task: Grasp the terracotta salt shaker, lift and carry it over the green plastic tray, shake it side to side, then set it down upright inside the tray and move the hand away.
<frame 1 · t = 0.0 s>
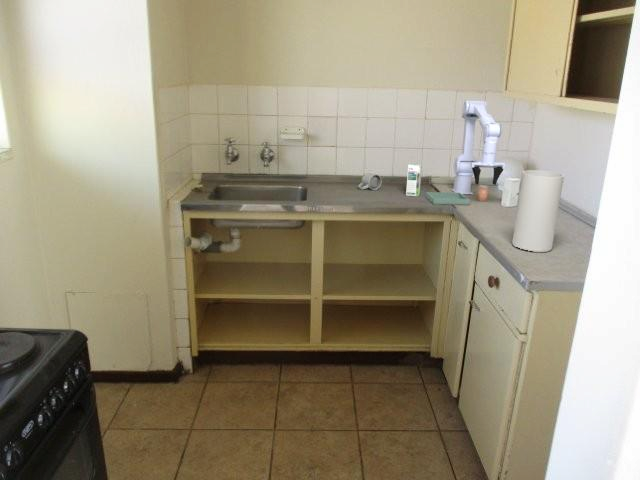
hand: (485, 184, 226), 10 cm above the counter, tool pointing down, fingers open, 7 cm apart
skincare box: (508, 206, 233), on the counter
syrup box: (412, 195, 248), on the counter
cylinder vase: (531, 247, 177), on the counter
ceramic mug: (368, 189, 259), on the counter
tray: (446, 201, 238), on the counter
salt shaker: (481, 200, 241), on the counter
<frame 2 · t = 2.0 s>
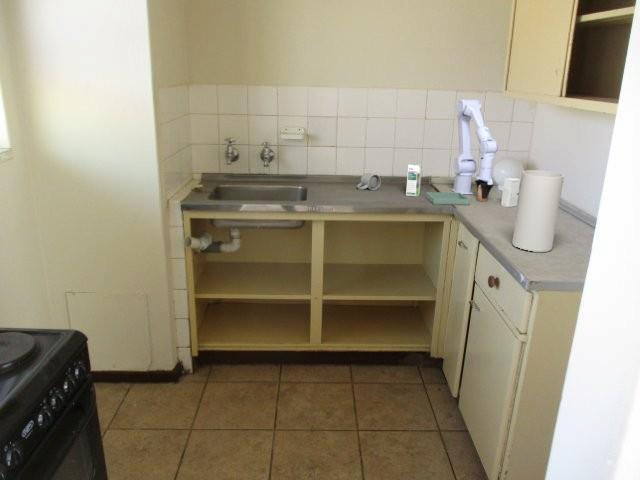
hand: (482, 197, 240), 2 cm above the counter, tool pointing down, fingers closed on salt shaker, 5 cm apart
salt shaker: (482, 200, 241), on the counter, touching gripper
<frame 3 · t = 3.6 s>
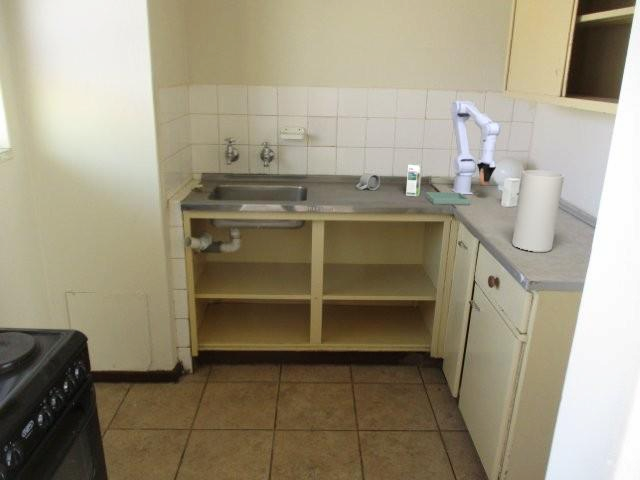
hand: (484, 180, 238), 9 cm above the counter, tool pointing down, fingers closed on salt shaker, 5 cm apart
salt shaker: (484, 184, 238), point 8 cm above the counter, touching gripper
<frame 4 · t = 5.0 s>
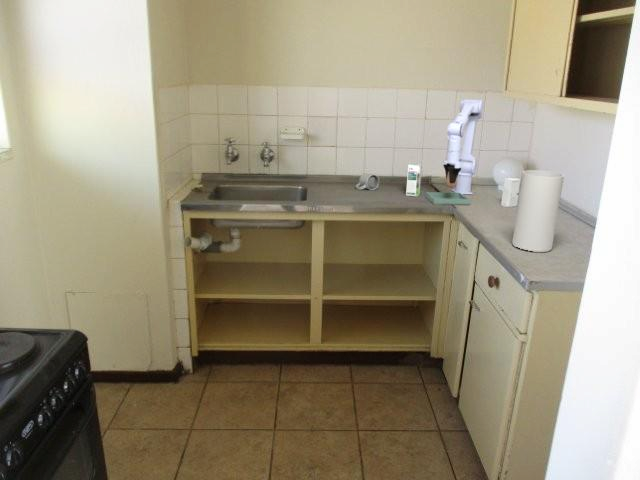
hand: (450, 181, 232), 9 cm above the counter, tool pointing down, fingers closed on salt shaker, 5 cm apart
salt shaker: (450, 186, 233), point 8 cm above the counter, touching gripper
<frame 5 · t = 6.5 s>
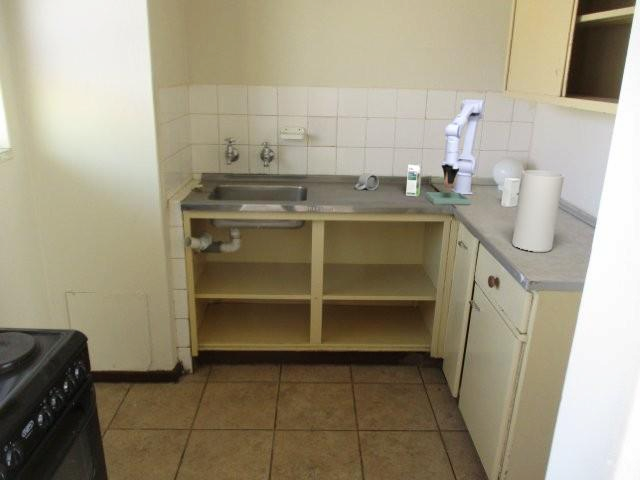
hand: (448, 182, 235), 9 cm above the counter, tool pointing down, fingers closed on salt shaker, 5 cm apart
salt shaker: (449, 186, 236), point 7 cm above the counter, touching gripper
when the fingers open (3 cm above the counter, at t = 7.8 s): salt shaker stays where it is, resting on tray.
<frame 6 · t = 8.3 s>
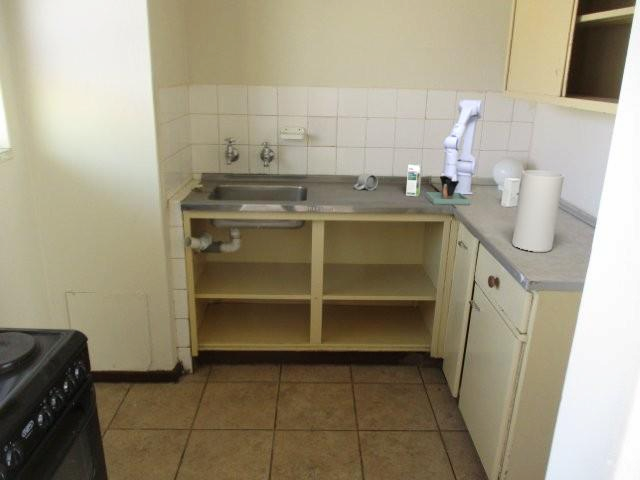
hand: (447, 193, 237), 3 cm above the counter, tool pointing down, fingers open, 7 cm apart
salt shaker: (447, 199, 237), point 1 cm above the counter, touching tray
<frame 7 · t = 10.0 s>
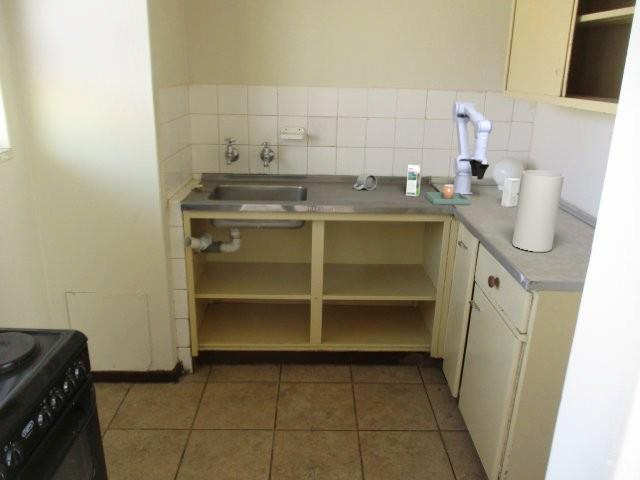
hand: (477, 177, 238), 10 cm above the counter, tool pointing down, fingers open, 7 cm apart
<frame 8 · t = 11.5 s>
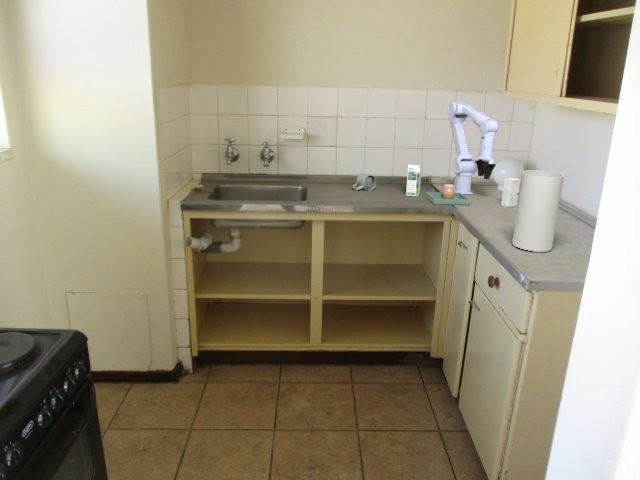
hand: (483, 177, 239), 10 cm above the counter, tool pointing down, fingers open, 7 cm apart
at the end: salt shaker inside the target area on the tray (0.3 cm from its centre), point 0.6 cm above the tray's base; salt shaker tilted 0°; the gripper is holding nothing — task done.
